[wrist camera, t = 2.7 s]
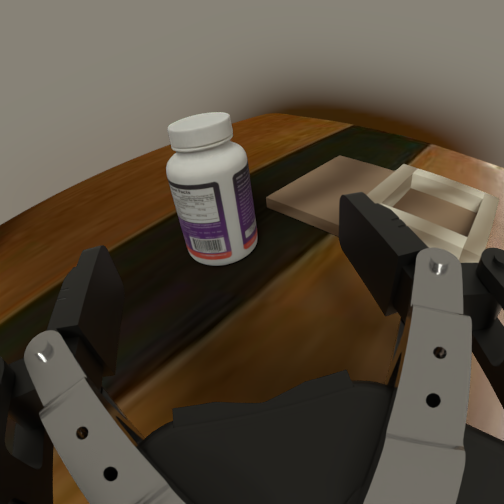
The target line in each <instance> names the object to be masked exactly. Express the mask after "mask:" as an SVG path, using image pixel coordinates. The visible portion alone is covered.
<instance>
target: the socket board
mask: <svg viewBox="0 0 504 504" xmlns="http://www.w3.org/2000/svg"><path fill="white" fill-rule="evenodd" d="M357 192H364V193H365V194H366V195H367V196H368V197H369V198H370V199H371V200H372V201H373V202H374V203H375V204H376V203H379V204H381V205H383V206H385V207H387V208H389V209H391V210H392V211H393V212H394V213H395V214H396V215H397V216H398V217H399V219H401V220H402V221H403V222H404V223H405V224H406V226H408V227H409V228H410V229H411V230H412V231H413V232H414V233H415V234H416V235H417V236H418V237H419V238H420V239H421V240H422V241H423V242H424V243H425V244H426V245H427V246H428V247H429V248H440V249H444V250H446V251H448V252H450V253H452V254H453V255H454V256H456V257H457V259H458V260H459V261H460V263H479V260H480V257H481V254H482V252H483V251H484V250H485V248H486V245H487V242H488V238H489V235H490V232H491V228H492V225H493V221H494V218H495V214H496V210H497V206H498V202H499V198H497V197H495V196H492V195H490V194H487V193H485V192H482V191H480V190H477V189H475V188H472V187H469V186H467V185H464V184H461V183H459V182H456V181H453V180H450V179H448V178H445V177H442V176H439V175H436V174H433V173H430V172H427V171H424V170H421V169H418V168H415V167H412V166H408V165H405V164H403V165H402V166H401V167H400V168H398V169H397V170H396V171H392V170H389V169H386V168H382V167H379V166H375V165H372V164H369V163H365V162H362V161H358V160H354V159H351V158H347V157H343V156H338V157H336V158H334V159H333V160H331V161H329V162H327V163H325V164H324V165H322V166H320V167H318V168H316V169H315V170H313V171H311V172H309V173H308V174H306V175H304V176H302V177H301V178H299V179H297V180H295V181H294V182H292V183H290V184H288V185H287V186H285V187H283V188H281V189H280V190H278V191H276V192H274V193H273V194H271V195H269V196H268V197H266V202H267V208H270V209H272V210H275V211H277V212H280V213H282V214H285V215H287V216H290V217H292V218H295V219H297V220H300V221H302V222H305V223H307V224H310V225H312V226H314V227H317V228H319V229H322V230H324V231H326V232H329V233H331V234H334V235H336V236H338V237H339V201H340V197H341V196H342V195H345V194H351V193H357Z"/></svg>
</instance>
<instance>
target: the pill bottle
mask: <svg viewBox="0 0 504 504" xmlns="http://www.w3.org/2000/svg"><path fill="white" fill-rule="evenodd" d="M232 132H233V130H232V125H231V120H230V115H229V114H227V113H223V112H213V113H204V114H199V115H194V116H190V117H186V118H183V119H180V120H178V121H176V122H174V123H172V124H170V125H169V126H168V134H169V139H170V143H171V145H172V146H171V148H172V149H173V150H174V151H176V153H175V154H174V155H173V156H172V157H171V158H170V160H169V161H168V163H167V167H166V173H167V178H168V181H169V185H170V189H171V192H172V196H173V200H174V203H175V207H176V210H177V214H178V218H179V221H180V225H181V228H182V232H183V235H184V238H185V242H186V245H187V248H188V251H189V253H190V255H191V256H192V258H193V259H195V260H196V261H198V262H200V263H202V264H206V265H211V266H221V265H227V264H231V263H234V262H237V261H239V260H241V259H243V258H244V257H246V256H247V255H248V254H250V253H251V252H252V250H253V249H254V248H255V246H256V244H257V240H258V235H257V226H256V219H255V211H254V204H253V197H252V190H251V182H250V175H249V168H248V161H247V156H246V153H245V151H244V149H243V148H242V147H241V146H240V145H238V144H236V143H234V142H230V139H231V138H232V136H233V133H232Z"/></svg>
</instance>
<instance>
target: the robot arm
mask: <svg viewBox="0 0 504 504" xmlns="http://www.w3.org/2000/svg"><path fill="white" fill-rule="evenodd" d="M339 241H340V245H341V248H342V250H343V252H344V253H345V255H346V256H347V258H348V259H349V261H350V262H351V264H352V265H353V267H354V268H355V270H356V271H357V273H358V274H359V276H360V277H361V279H362V280H363V282H364V283H365V285H366V286H367V288H368V290H369V291H370V293H371V294H372V296H373V297H374V299H375V300H376V302H377V304H378V305H379V307H380V308H381V310H382V312H383V313H384V315H385V316H388V315H391V314H394V313H397V312H398V313H399V315H400V316H401V318H400V321H399V325H398V330H397V335H396V340H395V344H394V349H393V353H392V358H391V362H390V366H389V370H388V373H387V376H386V379H385V382H384V384H382V383H378V382H372V381H351V379H350V377H349V374H348V372H347V370H344V371H340V372H337V373H334V374H331V375H327V376H324V377H320V378H317V379H313V380H310V381H306V382H304V383H302V384H300V385H298V386H296V387H294V388H292V389H290V390H288V391H286V392H284V393H282V394H280V395H278V396H276V397H274V398H272V399H270V400H268V401H266V402H263V403H227V402H212V403H206V404H200V405H194V406H187V407H180V408H173V421H172V422H169V423H167V424H165V425H163V426H161V427H160V428H158V429H157V430H155V431H154V432H152V433H151V434H150V435H148V436H147V437H146V438H145V437H144V436H143V435H142V434H141V433H140V432H139V431H138V429H137V428H136V427H135V426H134V425H133V424H132V423H131V421H130V420H129V419H128V418H127V417H126V415H125V414H124V413H123V412H122V410H121V409H120V408H119V407H118V405H117V404H116V403H115V401H114V400H113V399H112V398H111V396H110V395H109V394H108V392H107V391H106V390H105V388H104V387H103V386H102V385H101V384H102V377H104V376H113V375H115V370H116V360H117V350H118V341H119V333H120V325H121V318H122V311H123V304H124V297H125V294H124V287H123V283H122V280H121V278H120V276H119V274H118V272H117V270H116V267H115V265H114V263H113V261H112V259H111V257H110V254H109V252H108V250H107V248H106V247H105V246H103V245H102V246H98V247H94V248H90V249H86V250H83V251H82V253H81V256H80V259H79V261H78V264H77V267H73V269H72V270H71V271H70V272H69V274H68V275H67V276H66V277H65V279H64V282H63V284H62V287H61V292H59V295H58V298H57V299H58V301H56V304H55V307H54V310H53V313H52V316H51V319H50V322H49V325H48V328H47V331H45V332H42V333H40V334H38V335H37V336H36V337H34V338H33V339H32V340H31V342H30V343H29V344H28V346H27V348H26V350H25V354H24V358H22V359H20V360H18V361H16V362H14V363H11V364H9V365H8V364H7V363H6V362H5V361H4V360H3V359H2V358H1V357H0V504H53V444H54V446H55V448H56V450H57V452H58V454H59V455H60V457H61V459H62V461H63V462H64V464H65V466H66V467H67V469H68V471H69V472H70V474H71V476H72V477H73V479H74V481H75V482H76V484H77V485H78V487H79V488H80V490H81V491H82V493H83V494H84V496H85V497H86V499H87V500H88V502H89V503H90V504H504V441H502V440H500V439H498V438H496V437H494V436H492V435H489V434H487V433H485V432H483V431H481V430H479V429H476V428H474V427H472V426H470V425H468V424H466V417H467V409H468V399H469V389H470V375H471V354H472V352H473V354H474V356H475V357H476V359H477V361H478V363H479V364H480V366H481V368H482V370H483V371H484V373H485V375H486V377H487V378H488V380H489V382H490V384H491V386H492V388H493V389H494V391H495V393H496V395H497V397H498V399H499V401H500V403H501V405H502V407H503V409H504V326H503V325H502V323H501V322H500V321H499V319H498V318H497V316H498V314H499V313H500V311H501V309H502V308H503V310H504V250H501V249H498V248H488V249H485V250H484V251H483V252H482V254H481V257H480V260H479V263H460V261H459V260H458V259H457V257H456V256H454V255H453V254H452V253H450V252H448V251H446V250H444V249H440V248H429V247H428V246H427V245H426V244H425V243H424V242H423V241H422V240H421V239H420V238H419V237H418V236H417V235H416V234H415V233H414V232H413V231H412V230H411V229H410V228H409V227H408V226H406V224H405V223H404V222H403V221H402V220H401V219H399V217H398V216H397V215H396V214H395V213H394V212H393V211H392V210H391V209H389V208H387V207H385V206H383V205H381V204H379V203H376V204H375V203H374V202H373V201H372V200H371V199H370V198H369V197H368V196H367V195H366V194H365V193H364V192H357V193H351V194H345V195H342V196H341V197H340V201H339ZM7 417H10V418H11V419H12V420H13V421H15V422H16V427H15V435H14V444H13V454H12V455H11V454H10V453H9V452H8V450H7V448H6V446H5V440H4V439H5V431H6V423H7Z"/></svg>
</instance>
